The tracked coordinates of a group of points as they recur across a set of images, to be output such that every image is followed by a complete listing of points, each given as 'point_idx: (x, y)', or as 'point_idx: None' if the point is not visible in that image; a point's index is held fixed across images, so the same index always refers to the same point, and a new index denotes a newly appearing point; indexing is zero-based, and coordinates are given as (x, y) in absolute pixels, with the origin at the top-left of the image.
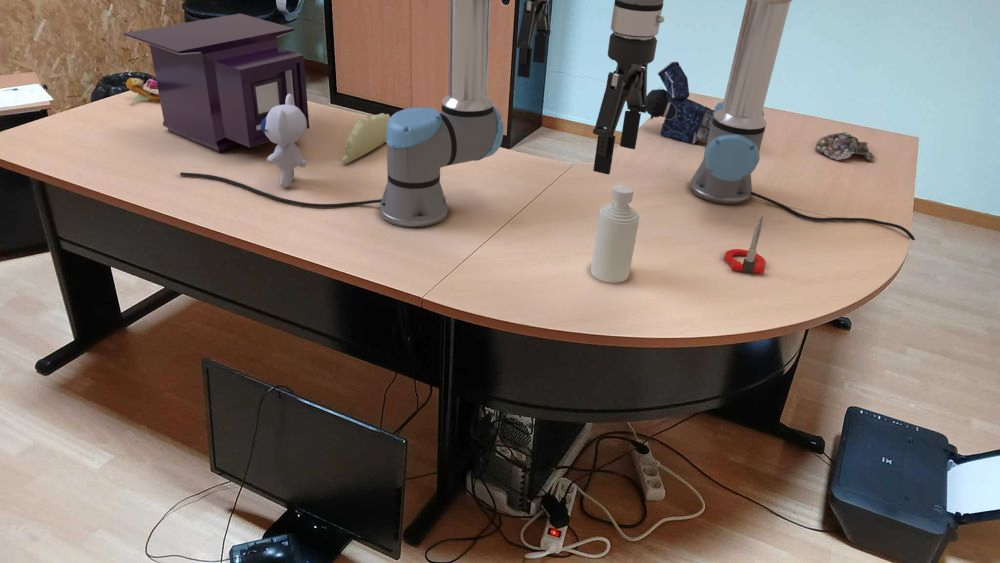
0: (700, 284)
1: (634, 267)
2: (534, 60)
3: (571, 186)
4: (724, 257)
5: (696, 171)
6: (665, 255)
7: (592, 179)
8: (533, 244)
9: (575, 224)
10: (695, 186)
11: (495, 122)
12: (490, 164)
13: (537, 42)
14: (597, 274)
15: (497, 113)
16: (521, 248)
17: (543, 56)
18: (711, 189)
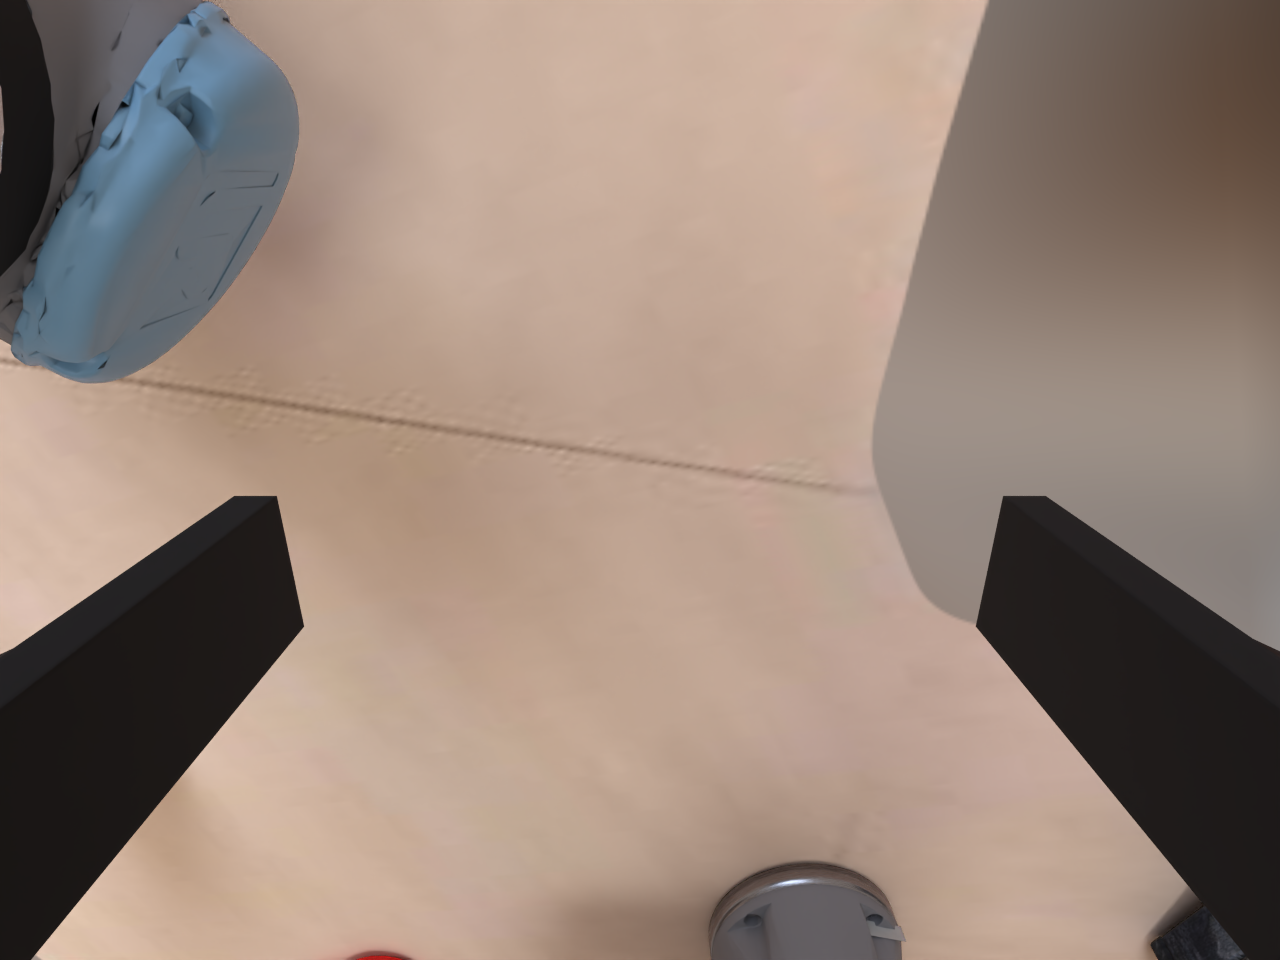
0: (212, 916)
1: (189, 788)
2: (1008, 523)
3: (647, 533)
4: (370, 956)
5: (823, 923)
6: (307, 843)
7: (748, 589)
8: (121, 519)
9: (344, 607)
10: (759, 898)
11: (1, 338)
12: (737, 127)
13: (1192, 712)
14: None
15: (34, 335)
16: (68, 491)
17: (1024, 671)
18: (724, 947)
